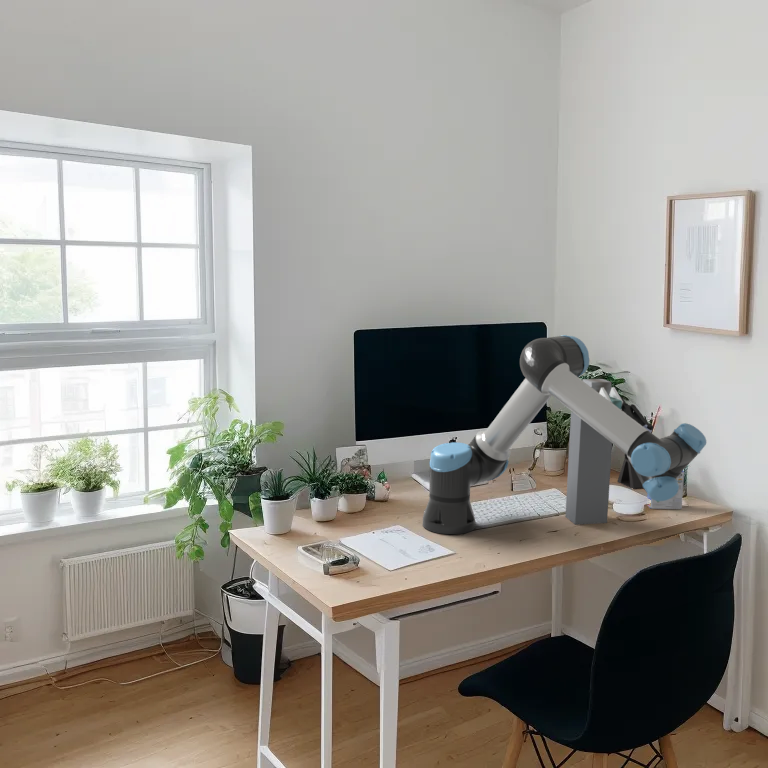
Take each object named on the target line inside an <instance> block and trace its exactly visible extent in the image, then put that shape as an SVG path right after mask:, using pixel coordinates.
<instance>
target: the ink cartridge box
mask: <svg viewBox="0 0 768 768" xmlns="http://www.w3.org/2000/svg"><path fill="white" fill-rule="evenodd" d="M684 478H685V471H684V470H683V471H682V472H681V473H680V475H679V476H678V477H677V478H676V480H677V481H678V485H679V489H678V492H677V494H676V495H675V496H674V497H672V498H671V499H668V500H666V501H655V500H653V499H652V498H651V497H650V496H649V495H648V494H647V493H646V494H647V496H646V499H647V498H648V499H650V500H651V503H650V504H649V505H647V506H648V508H649V509H652V510H655V509H657V510H663V509H664V510H665V509H666V510H682V509H683V493H684V481H685V479H684Z"/></svg>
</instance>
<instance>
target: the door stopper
mask: <svg viewBox="0 0 768 768" xmlns="http://www.w3.org/2000/svg"><path fill="white" fill-rule="evenodd" d="M617 483H618V484H620V483H621V485H623V486H625V487H627V488H630V489H632V488H633V489H632V490H637V489H644V488H643V485H642V483H641V481H640V480H639V478H638V476H637V474H636V472H635V470H634V468H633V466H632V465H631V463H630V461H629V459H628V457H627V456H626V454H625V453H624V459H623V463H622V465H621V469H620V472H619V474H618V478H617Z"/></svg>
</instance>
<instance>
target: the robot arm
mask: <svg viewBox="0 0 768 768" xmlns="http://www.w3.org/2000/svg"><path fill="white" fill-rule="evenodd" d="M519 357H520V358H519V367H520V370H521V373H522V375H523V376H524V377H525V378H524V379H523V381H522V382H521V383H520V385H519V386H518V388H517V389H516V390H515V391H514V393H513V394H512V395H511V396H510V398H509V400H508V401H507V402H506V403H505V404H504V405H503V407H502V408H501V410H500V411H499V413H498V414H497V415H496V417H495V418H494V420H493V421H491V423H490V424H489V426H488V427H487V428H486V430H479V431H477V433H476V435H474V436H473V438H472V440H471V441H470V443H468V444H467V443H464V442H455V441H454V442H453V441H452V442H445V443H441V444H438V445H437V446H435V447H433V449H432V450H431V452H430V460H429V498H428V502H427V504H426V506H425V511H424V513H423V516H422V527H423V528H425V530H428V531H430V532H433V533H436V534H441V535H442V534H443V535H460V534H467V533H470V532H472V531H473V530H474V529H475V528H476V517H475V514H474V510H473V506H472V503H471V487H472V486H474V485H477V484H480V483H485V482H488V481H494V480H495V479H497V478H499V477H501V476H502V475H503V474H504V473H505V472H506V470H507V469H508V466H509V462H510V461H509V458H510V456H511V448H512V447H513V445H514V444H515V442H516V441H517V440H518V439H519V437H520V436H521V435H522V434H523V432H524V431H525V430H526V428H527V427H528V426H529V424H530V423H532V421H533V420H534V419H535V417H536V416H537V415H538V413H539V412H540V411H541V409H542V408H543V407H544V406H545V405H546V403H547V402H548V401H549V400H550V398H551V397H553V398H554V399H555V400H557V401H558V402H560V404H562V405H563V406H564V407H566V408H567V409H568V410H570V411H571V412H573V413H575V414H576V415H577V416H578V417H580V418H581V419H582V420H583V421H585V422H586V423H587V424H589V425H590V426H591V427H592V428H594V429H595V430H596V431H597V432H599V433H600V434H601V435H603V436H604V437H605V438H606V439H608V440H609V441H610V442H611V443H612V445H614V446H615V447H616V448H618V449H619V450H620V451H621V452H623V453H624V455H625V454H626V456H627V457H628V459H629V461H630V463H631V465H632V466H633V468H634V470H635V472H636V474H637V476H638V478H639V480H640V481H641V483H642V485H643V488H642V489H644V491H645V492H646V494H648V495H649V496H650V497H651V498H652V499H653V500H655V501H666V500H668V499H671V498H672V497H674V496H675V495H676V494H677V492H678V489H679V485H678V481H677V480H676V478H677V477H678V476H679V475H680V473H681V472H682V471H684V470H685V468H686V467H687V466H689V464H691V462H692V461H693V460H694V459H695V458H696V457H697V456H698V455H699V454H701V452H702V450H703V449H704V448H705V447H706V445H707V439H706V436H705V435H704V433H703V432H702V431H701V430H699V429H698V428H697V427H695V426H694V425H693V424H690V423H687V422H685V423H681V424H679V425H678V427H676V428H675V429H674V430H673V431H672V433H671V434H670V435H667V436H664V437H661V438H659V437H657V436H656V435H655V434H653V433H652V432H653V430H654V425H652V424H651V423H649V421H647V419H646V418H645V417H644V415H643V414H642V413H641V412H640V410H639V409H638V407H637V406H636V405H635V404H633V403H632V404H628V403H627V402H626V401H625V399H624V398H623V397H622V396H620V394H619V392H618V391H617V389H616V387H614V386H613V387H612V386H611V391H610V394H609V395H610V396H611V397H613V398H616V399H619V400H621V401H622V405H621V410H620V409H619V408H618V407H616V406H615V405H614V404H613V403H612V401H611V399H610V398H609V396H608V394H607V392H606V391H605V389H604V387H601V389H600V392H599V393H598V392H597V391H595V390H594V389H593V388H591V387H590V386H589V385H588V384H586V383H585V382H584V381H583V379H582V378H580V377H581V376H583V375H584V374H585V373H586V371H587V370H588V368H589V365H590V355H589V350H588V348H587V346H586V344H585V343H584V342H583V341H582V340H581V339H579V337H576V336H573V335H567V334H565V335H564V334H563V335H559V336H558V335H557V336H549V337H540V338H535V339H533V340H532V341H530V342H528V343H527V344H526V345H525V346H524V348H523V349H522V351H521V354H520V356H519Z"/></svg>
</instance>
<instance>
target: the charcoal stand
mask: <svg viewBox="0 0 768 768" xmlns="http://www.w3.org/2000/svg"><path fill="white" fill-rule="evenodd" d="M569 425H570V426H569V427H570V428H569V442H568V443H569V445H568V464H567V465H568V466H567V480H566V481H567V482H566V497H565V498H566V499H565V500H566V503H565V518H567V519H568V520H569V521H570V522H572V523H573V524H574V525H591V524H592V525H593V524H594V525H595V524H607V523H608V517H609V516H608V513H609V512H608V511H609V498H610V484H611V483H610V481H611V467H612V466H611V464H612V449H613V443H611V442H610V441H609V440H608V439H606V438H605V437H604V436H603V435H601V434H600V433H599V432H597V431H596V430H595V429H594V428H592V427H591V426H590V425H589V424H587V423H586V422H585V421H583V420H582V419H581V418H580V417H578V416H577V415H576V414H575V413H573V412H572V411H571V412H570V424H569Z"/></svg>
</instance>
